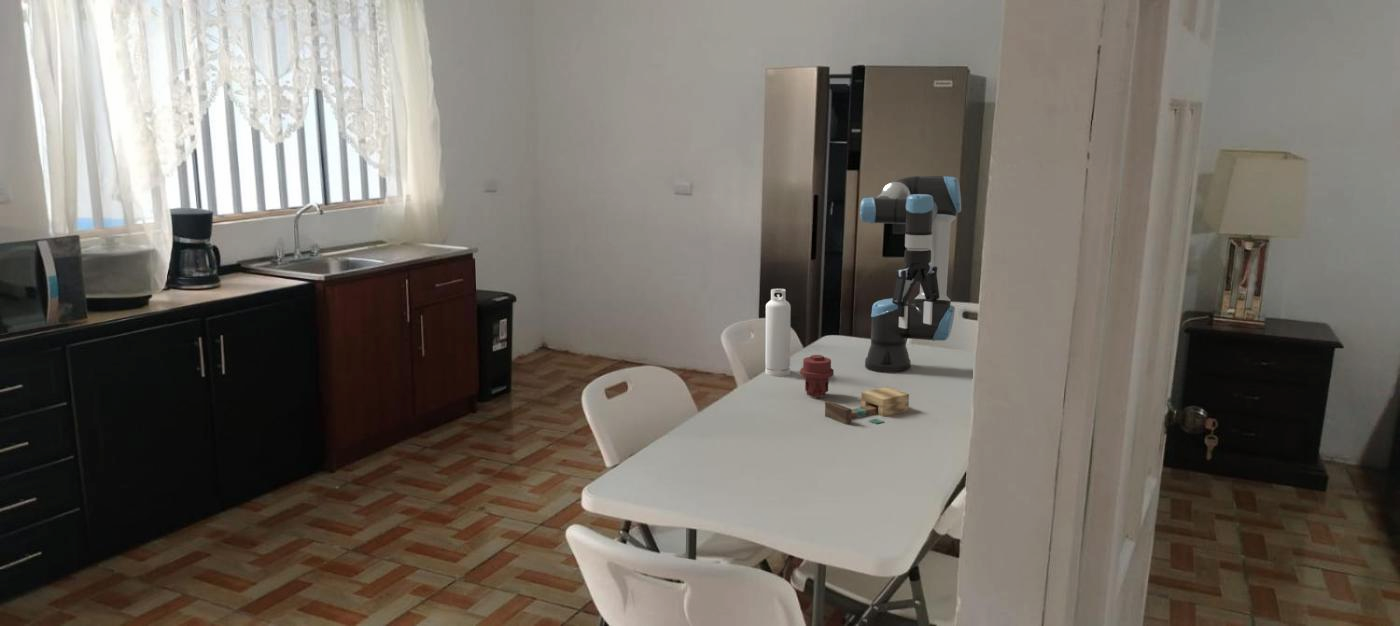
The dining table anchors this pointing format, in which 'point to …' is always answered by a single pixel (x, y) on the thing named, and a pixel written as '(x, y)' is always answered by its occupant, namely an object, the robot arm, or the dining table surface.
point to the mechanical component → (816, 374)
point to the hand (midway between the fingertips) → (915, 325)
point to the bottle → (777, 335)
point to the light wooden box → (886, 400)
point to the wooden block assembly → (849, 412)
